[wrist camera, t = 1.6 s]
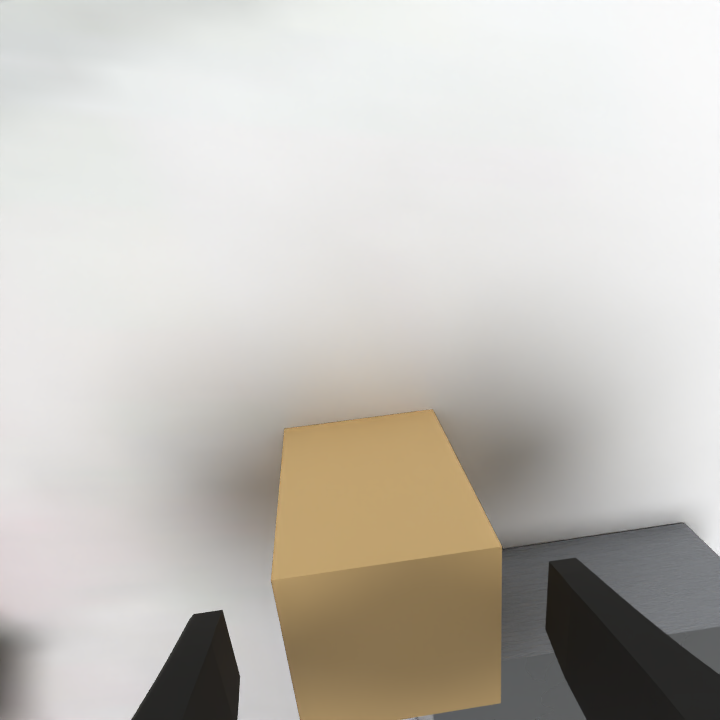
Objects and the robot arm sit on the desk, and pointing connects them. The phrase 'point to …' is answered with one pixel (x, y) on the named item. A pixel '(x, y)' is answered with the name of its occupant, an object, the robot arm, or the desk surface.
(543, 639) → the charcoal stand
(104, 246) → the desk surface
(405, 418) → the ochre block
